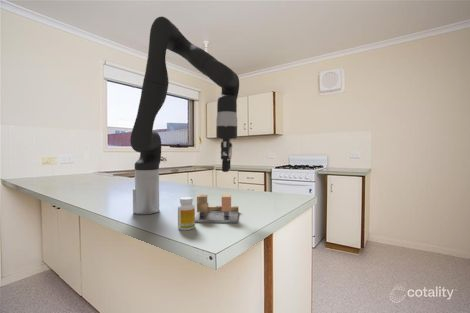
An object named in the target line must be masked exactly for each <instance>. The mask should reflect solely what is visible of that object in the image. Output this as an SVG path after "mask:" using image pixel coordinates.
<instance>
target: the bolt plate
mask: <svg viewBox="0 0 470 313" xmlns="http://www.w3.org/2000/svg"><path fill="white" fill-rule="evenodd" d="M195 216H196V217H195V223H207V224H208V223H209V224H210V223H212V224H214V223H215V224H224V223H225V224H237V223H238V219H239V211H238V212H229V216H224V211H206V212H205V216H200V212H198V213H197V214H196V215H195Z"/></svg>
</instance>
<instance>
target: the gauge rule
mask: <svg viewBox="0 0 470 313" xmlns="http://www.w3.org/2000/svg"><path fill="white" fill-rule="evenodd" d="M206 211H222V205H209V202H208V194H198V195H196V213H199V212H200V216H205V212H206ZM229 212H238V213H239V206H238V205H235V206H233V205H231V211H229Z"/></svg>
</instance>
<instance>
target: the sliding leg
mask: <svg viewBox="0 0 470 313" xmlns="http://www.w3.org/2000/svg"><path fill="white" fill-rule="evenodd" d="M221 206H222V211H224V216H229V211H231V206H232V195H231V194H223V195H222V196H221Z"/></svg>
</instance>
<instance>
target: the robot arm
mask: <svg viewBox="0 0 470 313" xmlns="http://www.w3.org/2000/svg"><path fill="white" fill-rule="evenodd" d="M148 40H149V41H148V42H149V43H148V52H147V53H148V54H147V61H146V67H145V73H144V77H143V81H142V87H141V92H140V99H139V103H138V109H137V114H136V117H135V120H134V122H133V123H134V124H133V127H132V130H131V134H130V140H129V141H130V146H131V148H132V150H133V151H135V153H139V154H140V155H139V157H138V160H137V161H135V163H134V188H133V189H132V214H136V215H137V214H138V215H150V214H155V213H158V212H159V211H160V164H161V161H162V138H161V135H160V134H159V133H158V132H157V131H156V130H153V129H154V124H155V119H156V118H157V115H158V113H159V111H160V110H161V109H162V107H163V106H164V104H165V101H166V99H167V94H168V90H169V74H168V68H167V63H166V54H167V50H168V51H171V52H173V53H174V54H177V55H179V56H181V58H183V59H185V60H186V61H187V62H188V63H189V64H190V65H192V66H193V67H194V69H196V70H198V71H199V72H200V73H201V74H203V75H205V76H206V77H208V79H210V80H211V81H212V82H213V83H214V84H216V85H217V86H218V87H220V88H221V93H220V96H219V97H218V98H217V101H216V102H217V103H216V109H217V110H216V111H217V112H216V119H215V120H216V123H215V124H216V126H215V128H216V129H215V130H216V135H215V136H216V139H218V140H222V141H221V142H220V159H221V171H222V172H223V173H228V172H229V170H230V169H231V160H232V155H233V144H232V141H231V140H236V139H237V138H238V114H237V111H238V109H237V108H238V105H237V102H238V97H239V91H240V78H239V76H238V74H237V73H236V72H234V70H232V68H230V67H229V66H227V65H226V64H224V63H223V62H221V61H219V60H218V59H217V58H215V56H213V55H212V54H210V53H208V52H207V51H205V50H204V49H202V48H201V47H199V46H196V45H195V44H194V43H192V42H191V41H190V40H188V39H187V38H186V36H185V35H183V33H182V32H181V31H180V30H179V28H178V27H177V26H176V25H175V24H174V23H173V22H171V20H170V19H169V18H167V17H165V16H158V17H156V18H155V19H154V21H153V22H152V24H151V27H150V32H149V39H148Z"/></svg>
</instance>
